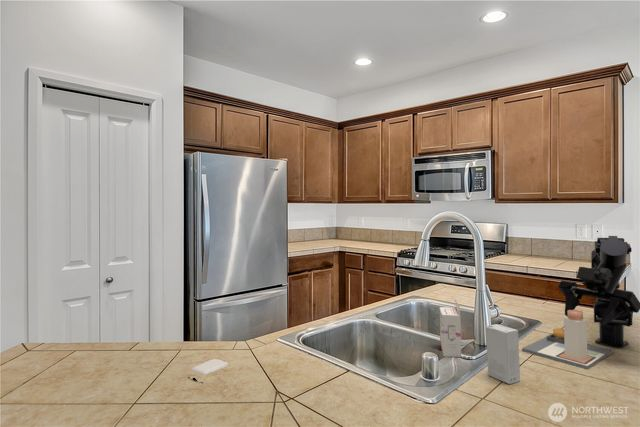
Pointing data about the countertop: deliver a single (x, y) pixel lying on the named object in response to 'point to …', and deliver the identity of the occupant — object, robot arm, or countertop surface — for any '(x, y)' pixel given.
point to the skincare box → (503, 353)
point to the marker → (575, 335)
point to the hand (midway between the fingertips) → (583, 319)
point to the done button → (558, 333)
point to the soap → (210, 366)
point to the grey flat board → (556, 351)
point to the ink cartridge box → (450, 331)
